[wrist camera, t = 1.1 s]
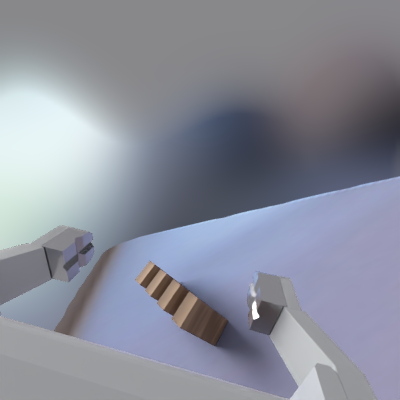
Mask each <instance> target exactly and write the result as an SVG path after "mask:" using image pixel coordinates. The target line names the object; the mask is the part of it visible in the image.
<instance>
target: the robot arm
mask: <svg viewBox="0 0 400 400" xmlns="http://www.w3.org/2000/svg"><path fill="white" fill-rule="evenodd" d="M92 240H93V236H92V233H90V232H87V231H83V230H80V229H75V228H71V227H67V226H63V225H62V226H58V227H57V228H55V229H53V230H52V231H50V232H48V233H47V234H45V235H43V236H42V237H40V238H39V239H37V240H35V241H34V242H32V243H31V244H28V243H26V244H22V245H18V246H14V247H11V248H7V249H3V250H0V305H2V304H4V303H6V302H8V301H10V300H11V299H13V298H16V297H18V296H19V295H21V294H23V293H25V292H27V291H29V290H31V289H33V288H35V287H37V286H39V285H41V284H43V283H45V282H47V281H49V280H51V278H52V279H57V280H61V281H65V282H70V281H71V280H72V279H73V278H74V277H75V276H76V275H77V274H78V273H79V271H80V267H82V266H85V265H87V264H88V263H89V261H90V260H91V258H92V257H93V254H94V246H93V245H92V243H91V241H92ZM247 302H248V306H249V308H250V311H249V314H248V317H249V330H253V331H256V332H259V333H263V334H266V335H270V336H269V337H270V338H271V340H272V342H273V344H274V345H275V347H276V349H277V351H278V352H279V354H280V356H281V357H282V359H283V361H284V363H285V364H286V366H287V368H288V370H289V371H290V373H291V375H292V377H293V378H294V380H295V382H296V383H297V385H298V387H299V388H298V389H297V390H296V392H295V393H294V394H293V396H292V397H291V398H290V399H287V398H283V397H280V396H276V395H273V394H269V393H266V392H262V391H259V390H256V389H252V388H249V387H245V386H242V385H238V384H235V383H231V382H228V381H224V380H221V379H217V378H214V377H210V376H207V375H203V374H200V373H197V372H193V371H190V370H186V369H183V368H179V367H176V366H172V365H169V364H165V363H162V362H158V361H155V360H151V359H148V358H145V357H141V356H138V355H134V354H131V353H127V352H124V351H120V350H117V349H113V348H110V347H106V346H103V345H99V344H96V343H92V342H89V341H85V340H82V339H78V338H75V337H71V336H68V335H64V334H61V333H57V332H54V331H51V330H47V329H44V328H40V327H37V326H33V325H30V324H26V323H22V322H19V321H16V320H12V319H9V318H5V317H2V316H1V313H0V400H377V398H376V396H375V394H374V392H373V390H372V388H371V386H370V384H369V382H368V380H367V378H366V376H365V374H364V373H363V372H362V371H361V370H360V369H359V368H358V367H357V366H356V365H355V364H354V363H353V362H352V361H351V360H350V359H349V358H348V356H347V355H346V354H345V353H344V352H343V351H342V350H341V349H340V348H339V347H338V346H337V345H336V344H335V343H334V342H333V341H332V340H331V338H330V337H329V336H328V335H327V334H326V333H325V332H324V331H323V330H322V329H321V328H320V327H319V326H318V325H317V324H316V323H315V321H314V320H313V319H312V318H311V317H310V316H309V315H308V314H307V313H306V312H304V311H302V310H301V307H300V304H299V301H298V299H297V296H296V293H295V290H294V287H293V284H292V281H291V280H290V278H286V277H281V276H276V275H272V274H267V273H263V272H258V271H255V273H254V275H253V283H251V284H250V286H249V290H248V297H247Z"/></svg>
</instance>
